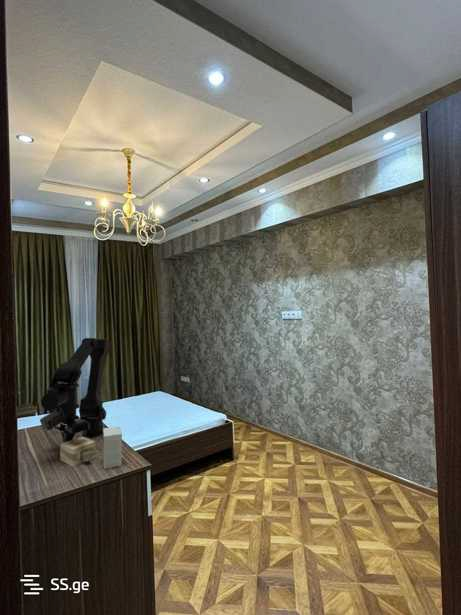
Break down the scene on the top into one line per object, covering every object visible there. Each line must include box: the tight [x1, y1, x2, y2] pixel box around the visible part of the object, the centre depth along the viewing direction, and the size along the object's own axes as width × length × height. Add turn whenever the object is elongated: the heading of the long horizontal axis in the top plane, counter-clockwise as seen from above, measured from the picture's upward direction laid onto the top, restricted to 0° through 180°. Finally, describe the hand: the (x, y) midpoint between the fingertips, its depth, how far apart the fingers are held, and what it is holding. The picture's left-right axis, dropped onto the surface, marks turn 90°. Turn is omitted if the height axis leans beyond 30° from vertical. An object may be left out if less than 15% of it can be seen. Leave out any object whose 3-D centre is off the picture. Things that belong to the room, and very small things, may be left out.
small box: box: [102, 425, 123, 470], centre depth 106 cm, size 8×6×10 cm
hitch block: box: [59, 436, 97, 467], centre depth 109 cm, size 8×8×6 cm
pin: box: [80, 449, 94, 462], centre depth 109 cm, size 4×12×4 cm, turn 54°
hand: (67, 446), depth 114 cm, fingers closed
